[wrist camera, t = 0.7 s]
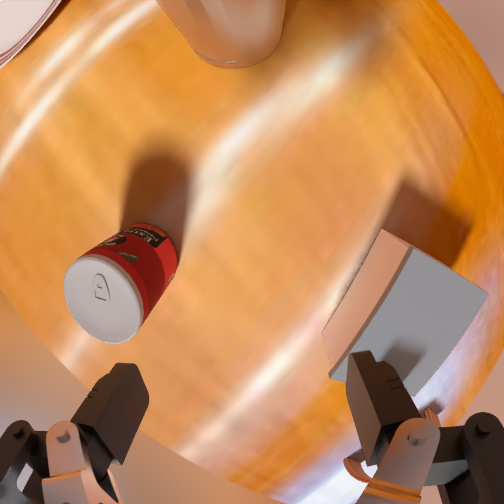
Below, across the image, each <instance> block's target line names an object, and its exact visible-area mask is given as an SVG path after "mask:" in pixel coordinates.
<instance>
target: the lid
mask: <svg viewBox="0 0 504 504" xmlns="http://www.w3.org/2000/svg"><path fill="white" fill-rule="evenodd" d="M488 295H489V294H488V293H487V292H485V291H484V290H483V289H481V288H480V287H478V286H476V285H475V284H473V283H472V282H470V281H469V280H467V279H466V278H464V277H462V276H461V275H459V274H458V273H456V272H454V271H453V270H451V269H450V268H448V267H446V266H445V265H443V264H441V263H440V262H438V261H436V260H435V259H433V258H431V257H430V256H428V255H426V254H424V253H423V252H421V251H419V250H417V249H416V248H414V247H412V246H409V248H408V250H407V252H406V253H405V255H404V257H403V259H402V261H401V263H400V265H399V266H398V268H397V270H396V272H395V273H394V275H393V277H392V279H391V280H390V282H389V284H388V286H387V287H386V289H385V291H384V292H383V294H382V296H381V297H380V299H379V301H378V302H377V304H376V305H375V307H374V309H373V310H372V312H371V313H370V315H369V316H368V318H367V319H366V321H365V322H364V324H363V325H362V327H361V328H360V330H359V331H358V333H357V334H356V336H355V337H354V339H353V340H352V342H351V343H350V344H349V346H348V347H347V349H346V350H345V352H344V353H343V354H342V356H341V357H340V358H339V360H338V361H337V362H336V364H335V365H334V366H333V368H332V369H331V370H330V372H329V373H328V374H329V378H330V379H333V380H337V381H341V382H346V377H347V366H348V356H349V353H353V352H359V351H365V350H370V351H371V352H372V354H373V356H374V358H375V360H376V362H379V361H386V362H387V363H388V364H390V365H391V366H393V367H394V368H395V370H396V372H397V373H398V375H399V377H400V379H401V380H402V382H403V384H404V387H405V388H406V389H407V391H408V393H409V395H410V396H415V395H416V394H417V393H418V392H419V391H420V390H421V388H422V387H423V386H424V385H425V384H426V383H427V382H428V380H429V379H430V378H431V377H432V376H433V374H434V373H435V372H436V371H437V370H438V368H439V367H440V366H441V365H442V363H443V362H444V361H445V359H446V358H447V357H448V355H449V354H450V353H451V351H452V350H453V349H454V347H455V346H456V345H457V343H458V342H459V340H460V339H461V338H462V336H463V335H464V333H465V332H466V330H467V329H468V327H469V326H470V324H471V323H472V321H473V320H474V318H475V316H476V315H477V313H478V312H479V310H480V308H481V307H482V305H483V303H484V302H485V300H486V298H487V296H488Z"/></svg>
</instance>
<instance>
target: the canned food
mask: <svg viewBox="0 0 504 504" xmlns="http://www.w3.org/2000/svg"><path fill="white" fill-rule="evenodd" d="M176 267H177V255H176V250H175V248H174V245H173V243H172V241H171V240H170V238H169V237H168V236H167V234H166V233H165V232H163V231H162V230H161V229H159V228H157V227H156V226H153V225H150V224H134V225H131V226H129V227H127V228H125V229H124V230H122V231H120V232H119V233H117V234H115V235H114V236H112V237H110V238H109V239H107V240H105V241H104V242H102V243H101V244H99V245H97V246H96V247H94V248H93V249H91V250H89V251H88V252H86V253H85V254H84V255H82V256H81V257H79V258H78V259H77V260H76V261H74V262H73V263H72V264H71V265H70V267H69V268H68V270H67V272H66V275H65V277H64V295H65V300H66V303H67V306H68V308H69V310H70V312H71V314H72V316H73V317H74V319H75V320H76V322H77V323H78V324H79V325H80V326H81V327H82V328H83V329H84V330H85V331H86V332H87V333H88V334H90V335H91V336H93V337H94V338H96V339H98V340H101V341H103V342H107V343H112V344H118V343H124V342H126V341H128V340H130V339H131V338H132V337H133V336H134V335H135V334H136V333H137V332H138V330H139V329H140V327H141V326H142V325H143V323H144V322H145V320H146V318H147V317H148V315H149V314H150V312H151V311H152V309H153V308H154V306H155V305H156V303H157V302H158V300H159V299H160V297H161V296H162V294H163V293H164V291H165V290H166V288H167V287H168V285H169V284H170V282H171V281H172V279H173V278H174V275H175V273H176Z"/></svg>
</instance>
